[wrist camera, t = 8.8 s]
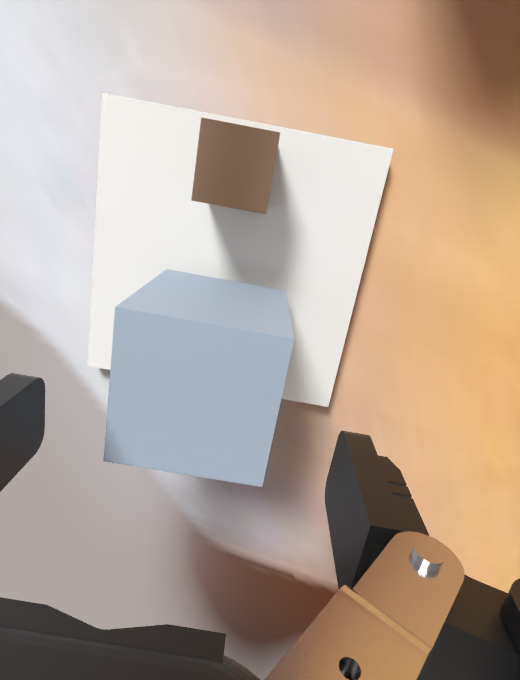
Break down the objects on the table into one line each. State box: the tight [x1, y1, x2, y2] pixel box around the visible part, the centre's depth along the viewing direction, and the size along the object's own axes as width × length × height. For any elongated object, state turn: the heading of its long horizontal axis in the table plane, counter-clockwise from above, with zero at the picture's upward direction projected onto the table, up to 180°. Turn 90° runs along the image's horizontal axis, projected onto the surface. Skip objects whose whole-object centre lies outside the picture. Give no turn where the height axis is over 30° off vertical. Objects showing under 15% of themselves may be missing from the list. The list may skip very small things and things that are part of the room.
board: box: [88, 93, 393, 407], centre depth 20 cm, size 12×12×1 cm
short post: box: [191, 117, 280, 214], centre depth 16 cm, size 3×3×4 cm
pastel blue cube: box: [104, 269, 294, 487], centre depth 16 cm, size 5×5×7 cm
